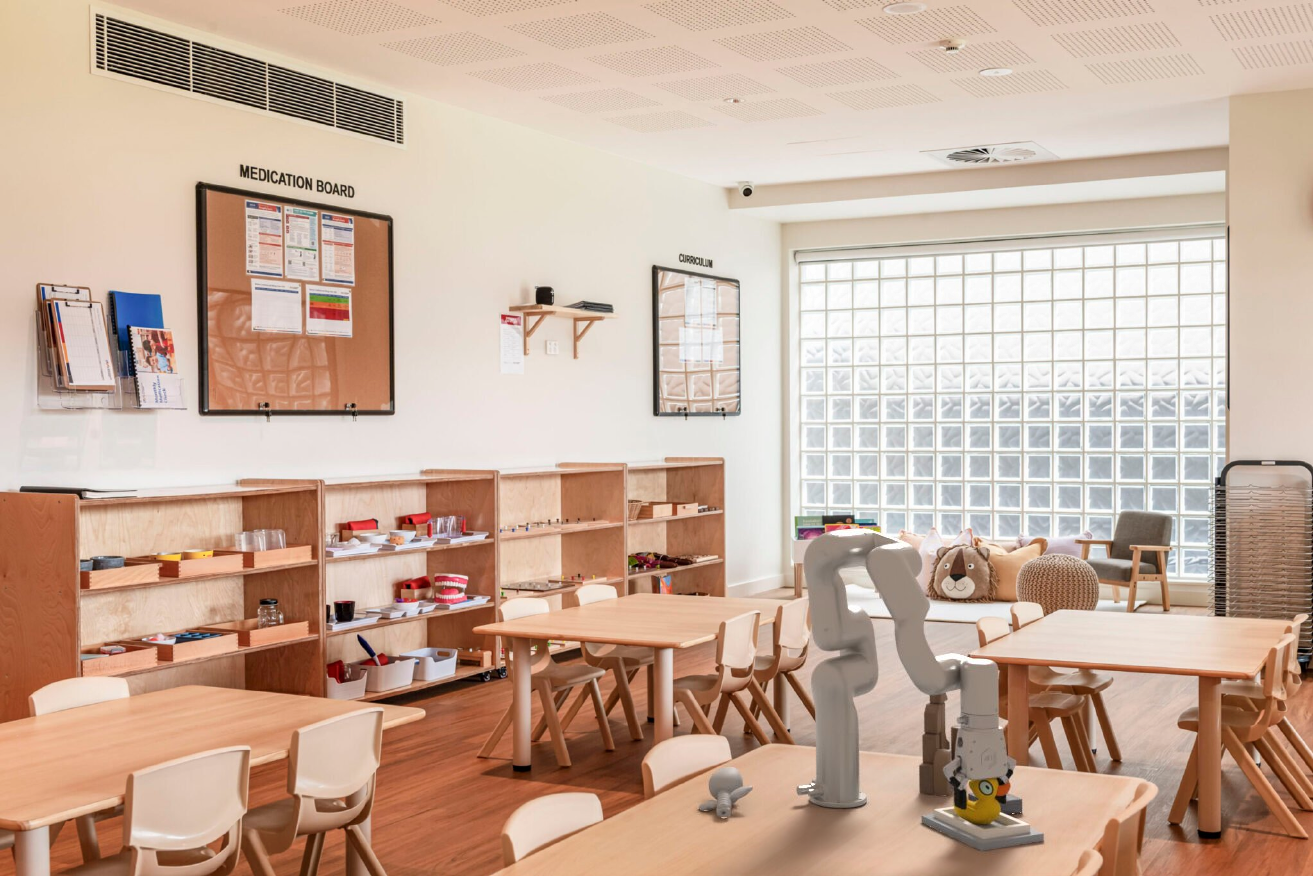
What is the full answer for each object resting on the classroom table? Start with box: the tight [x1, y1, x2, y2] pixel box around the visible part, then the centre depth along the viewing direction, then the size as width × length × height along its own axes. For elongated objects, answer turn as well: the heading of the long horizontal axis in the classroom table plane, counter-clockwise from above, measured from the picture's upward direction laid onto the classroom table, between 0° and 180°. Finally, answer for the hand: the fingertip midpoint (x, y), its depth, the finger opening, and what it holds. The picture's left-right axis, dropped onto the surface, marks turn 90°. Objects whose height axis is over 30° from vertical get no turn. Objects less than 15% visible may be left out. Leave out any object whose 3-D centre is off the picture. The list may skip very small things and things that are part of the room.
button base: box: [967, 792, 1023, 815], centre depth 266 cm, size 8×8×3 cm
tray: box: [920, 806, 1045, 852], centre depth 251 cm, size 15×20×3 cm
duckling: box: [952, 778, 1011, 824], centre depth 252 cm, size 11×5×10 cm, turn 70°
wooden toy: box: [918, 692, 962, 797], centre depth 285 cm, size 15×7×25 cm, turn 151°
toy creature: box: [698, 766, 754, 819], centre depth 271 cm, size 13×7×20 cm
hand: (980, 805), depth 251 cm, fingers open, 9 cm apart
